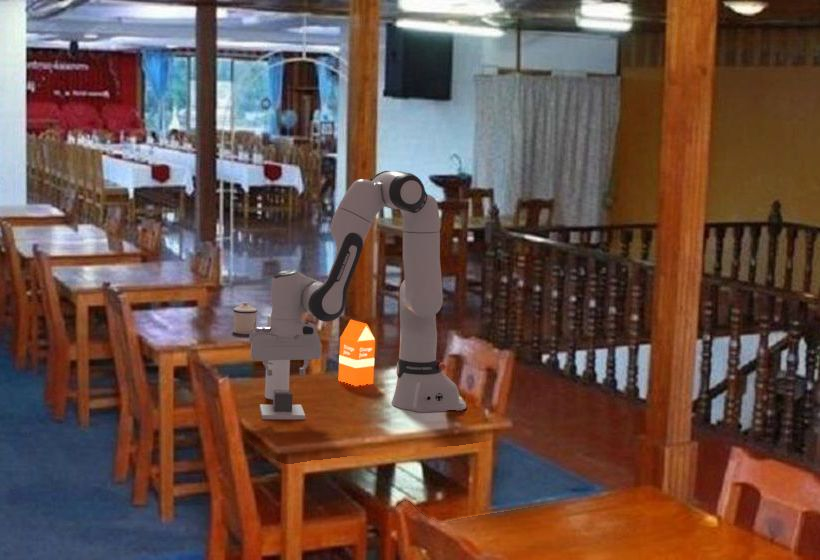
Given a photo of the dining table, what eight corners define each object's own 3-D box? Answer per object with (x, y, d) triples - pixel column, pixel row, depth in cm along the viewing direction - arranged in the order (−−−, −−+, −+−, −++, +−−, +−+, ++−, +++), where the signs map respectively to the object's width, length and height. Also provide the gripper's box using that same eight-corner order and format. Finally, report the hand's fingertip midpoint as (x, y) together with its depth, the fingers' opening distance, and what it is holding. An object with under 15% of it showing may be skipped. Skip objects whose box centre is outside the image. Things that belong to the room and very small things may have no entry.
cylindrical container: (284, 400, 361) (287, 318, 357) (261, 398, 362) (264, 316, 359) (291, 395, 368) (294, 314, 364) (269, 393, 369) (272, 312, 366)
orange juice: (354, 386, 384) (357, 324, 381) (337, 380, 390) (340, 320, 387) (373, 383, 389) (376, 322, 386) (356, 378, 395) (359, 318, 393)
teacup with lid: (259, 334, 461) (260, 304, 459) (237, 335, 457) (238, 304, 455) (249, 328, 471) (250, 298, 470) (227, 329, 467) (228, 299, 466)
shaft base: (300, 408, 353) (301, 392, 352) (305, 419, 341) (305, 403, 340) (259, 408, 350) (260, 392, 350) (262, 419, 339) (262, 403, 338)
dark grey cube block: (291, 411, 344) (292, 393, 343) (274, 411, 343) (274, 393, 342) (290, 407, 348) (291, 389, 348) (273, 407, 348) (273, 389, 347)
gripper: (249, 330, 337) (250, 378, 339) (322, 328, 341) (322, 376, 343) (248, 325, 343) (248, 373, 345) (320, 324, 347) (319, 371, 349)
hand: (285, 374), depth 344 cm, fingers open, 8 cm apart
